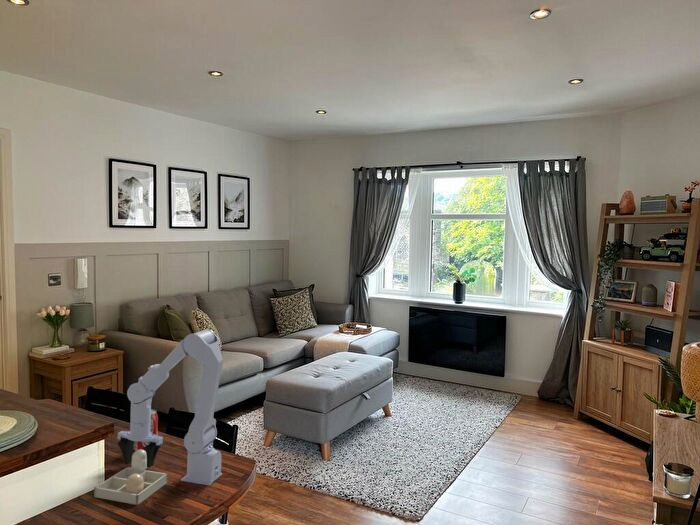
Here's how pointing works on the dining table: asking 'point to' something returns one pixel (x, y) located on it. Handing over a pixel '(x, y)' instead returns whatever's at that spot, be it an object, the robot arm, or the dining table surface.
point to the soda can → (152, 428)
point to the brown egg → (134, 484)
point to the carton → (117, 486)
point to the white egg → (139, 459)
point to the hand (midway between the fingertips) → (139, 464)
